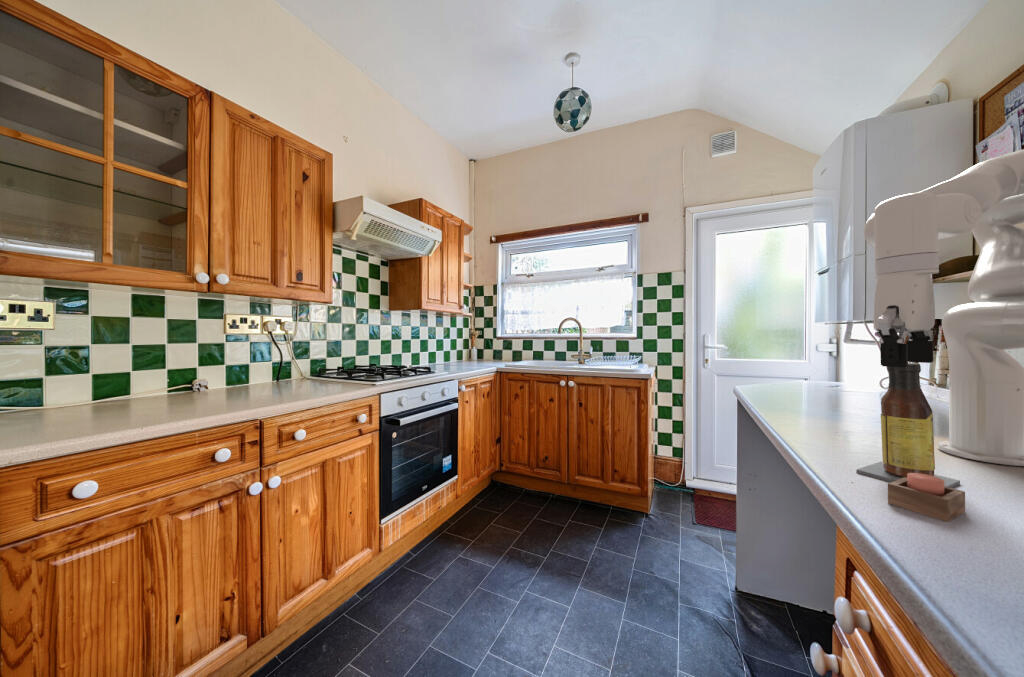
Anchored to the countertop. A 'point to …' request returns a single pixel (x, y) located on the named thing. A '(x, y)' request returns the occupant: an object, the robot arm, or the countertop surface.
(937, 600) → the countertop surface
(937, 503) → the box
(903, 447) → the sauce bottle
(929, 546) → the countertop surface
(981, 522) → the countertop surface
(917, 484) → the button
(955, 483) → the mat
